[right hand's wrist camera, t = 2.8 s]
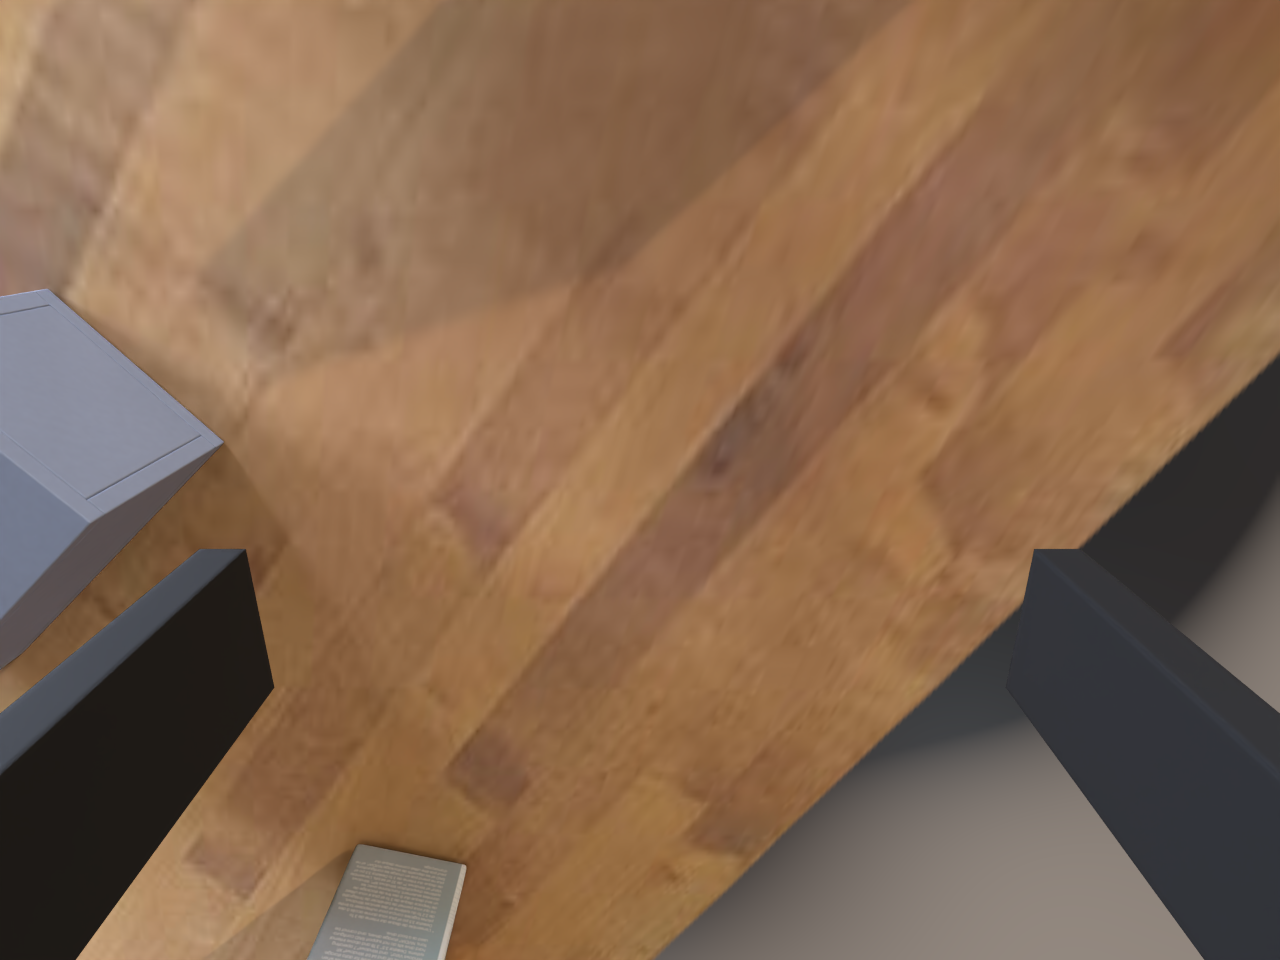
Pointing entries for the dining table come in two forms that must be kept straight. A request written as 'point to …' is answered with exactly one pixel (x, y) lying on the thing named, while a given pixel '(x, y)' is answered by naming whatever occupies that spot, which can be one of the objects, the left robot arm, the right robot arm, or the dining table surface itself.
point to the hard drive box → (391, 908)
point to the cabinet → (76, 459)
